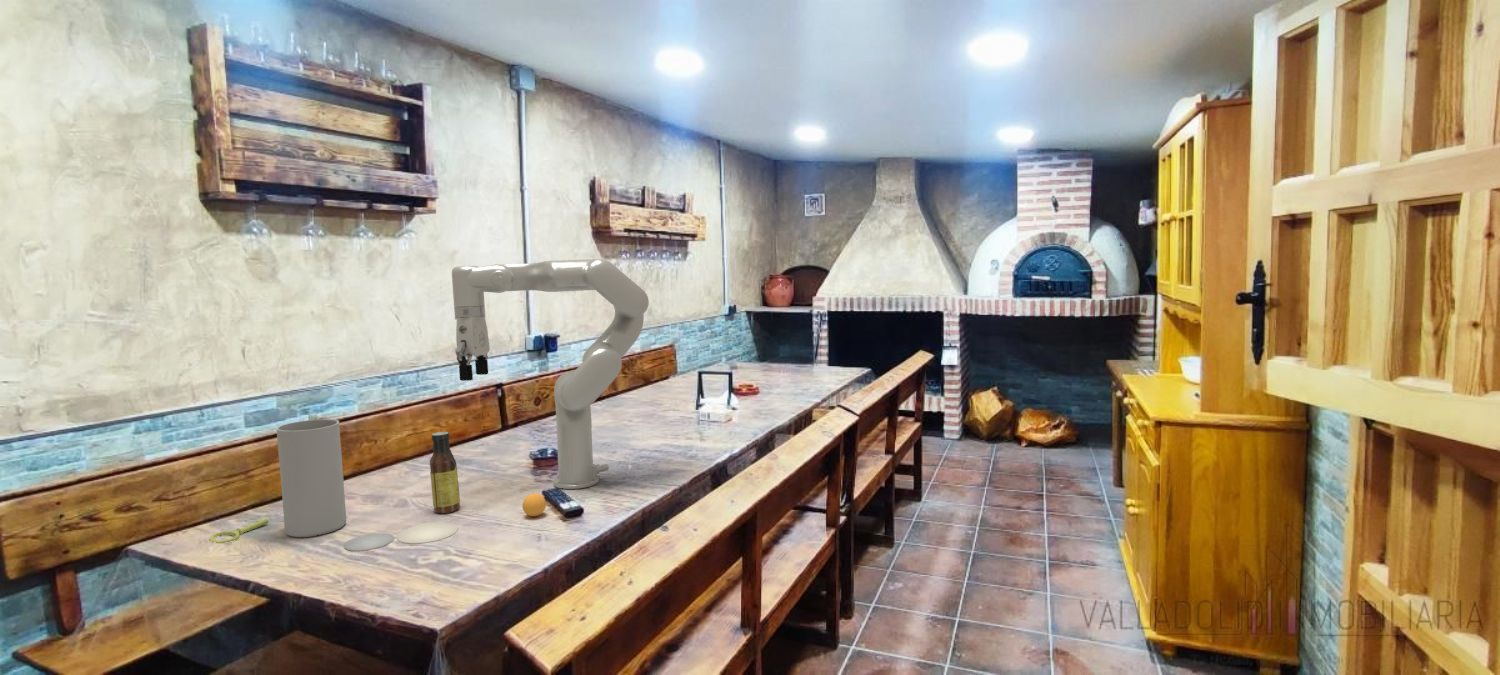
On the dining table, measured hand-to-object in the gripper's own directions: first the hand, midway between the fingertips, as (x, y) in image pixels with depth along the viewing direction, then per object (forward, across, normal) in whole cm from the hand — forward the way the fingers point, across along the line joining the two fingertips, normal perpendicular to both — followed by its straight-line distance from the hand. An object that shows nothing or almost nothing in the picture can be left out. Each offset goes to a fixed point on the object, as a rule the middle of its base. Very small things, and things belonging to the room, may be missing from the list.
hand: (474, 377), depth 193 cm
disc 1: (+32, -34, +11) cm, 48 cm away
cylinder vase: (+32, -26, +29) cm, 50 cm away
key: (+32, -30, +46) cm, 63 cm away
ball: (+29, -17, -20) cm, 40 cm away
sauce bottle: (+32, -13, +4) cm, 35 cm away
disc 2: (+32, -28, +1) cm, 43 cm away
